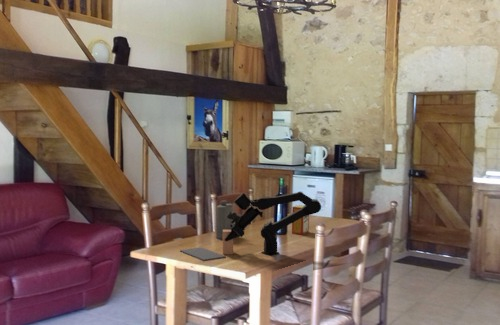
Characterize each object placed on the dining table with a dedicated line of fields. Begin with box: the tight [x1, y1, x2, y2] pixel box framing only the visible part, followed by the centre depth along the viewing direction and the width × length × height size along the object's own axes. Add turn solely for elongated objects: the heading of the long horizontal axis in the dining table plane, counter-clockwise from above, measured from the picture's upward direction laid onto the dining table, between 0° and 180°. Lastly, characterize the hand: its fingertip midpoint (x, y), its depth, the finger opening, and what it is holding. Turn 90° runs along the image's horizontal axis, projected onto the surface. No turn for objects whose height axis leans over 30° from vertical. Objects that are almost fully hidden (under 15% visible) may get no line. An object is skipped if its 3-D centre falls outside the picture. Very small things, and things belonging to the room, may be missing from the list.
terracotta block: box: [222, 230, 234, 255], centre depth 259 cm, size 5×5×11 cm
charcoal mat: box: [179, 246, 226, 262], centre depth 256 cm, size 22×12×1 cm, turn 36°
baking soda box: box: [291, 204, 310, 236], centre depth 312 cm, size 10×6×16 cm
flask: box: [215, 200, 234, 240], centre depth 298 cm, size 15×6×20 cm, turn 160°
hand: (225, 239), depth 259 cm, fingers open, 5 cm apart
